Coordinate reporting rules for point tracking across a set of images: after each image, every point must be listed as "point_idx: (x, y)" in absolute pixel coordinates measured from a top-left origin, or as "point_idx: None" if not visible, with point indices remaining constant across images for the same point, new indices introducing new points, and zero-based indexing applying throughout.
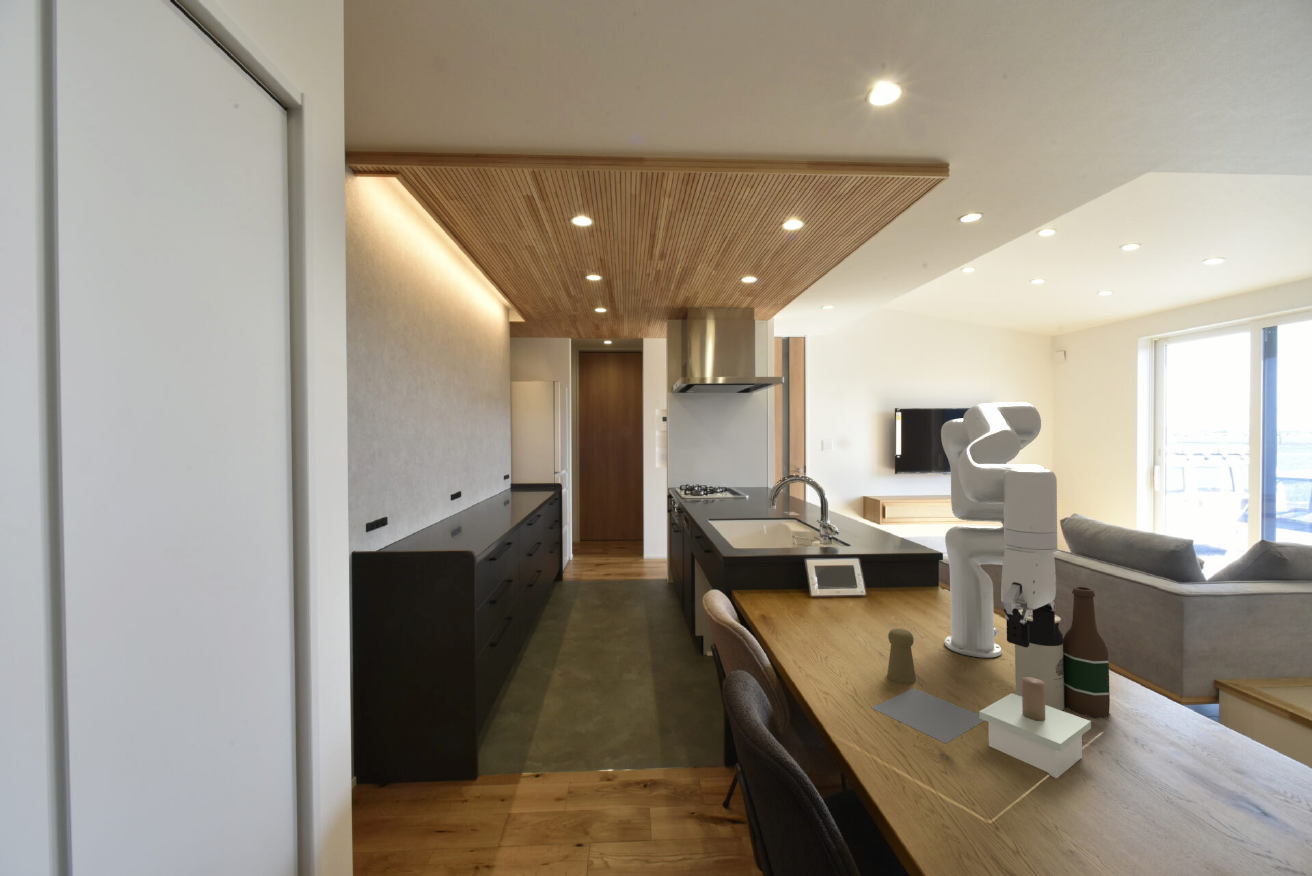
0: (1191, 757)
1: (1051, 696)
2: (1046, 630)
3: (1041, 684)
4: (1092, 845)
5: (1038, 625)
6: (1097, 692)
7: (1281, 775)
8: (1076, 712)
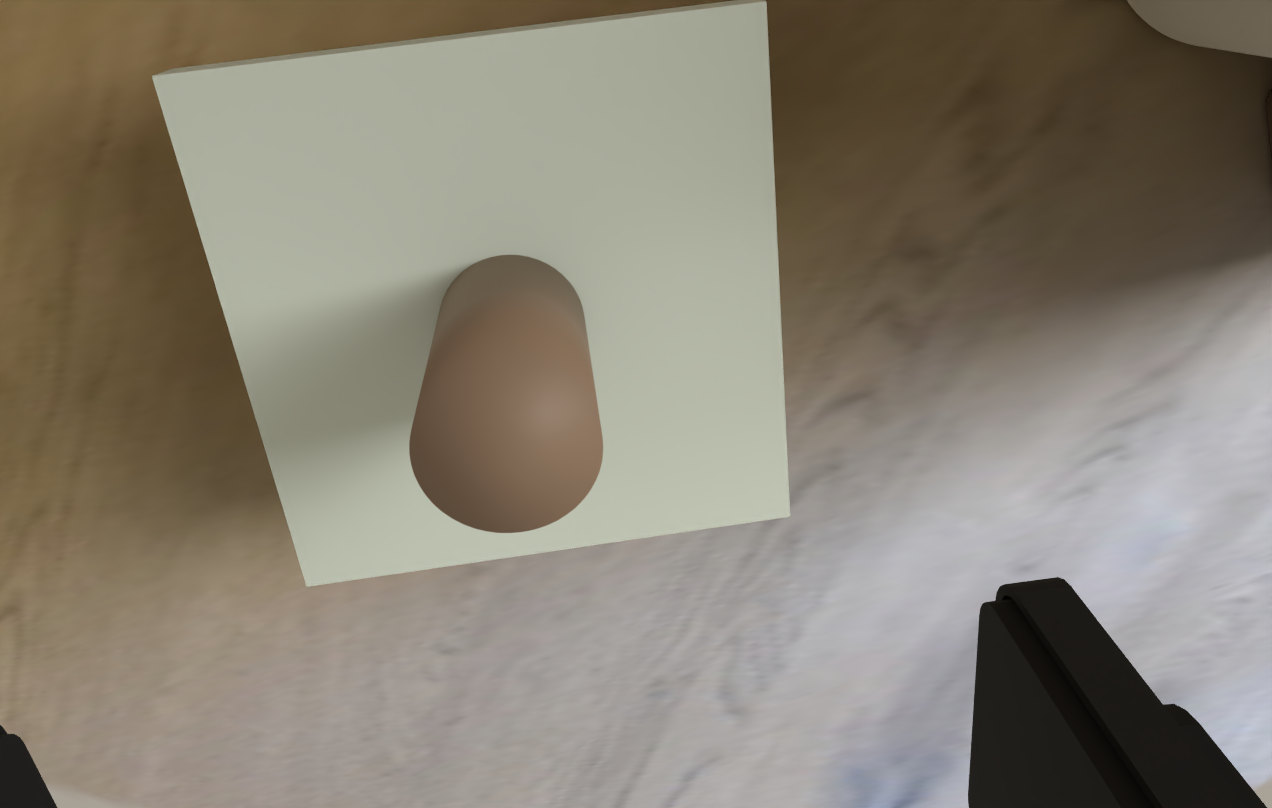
0: (1150, 585)
1: (1214, 30)
2: (984, 776)
3: (504, 521)
4: (57, 711)
5: (1012, 723)
6: None
7: (1249, 756)
8: (1266, 105)
